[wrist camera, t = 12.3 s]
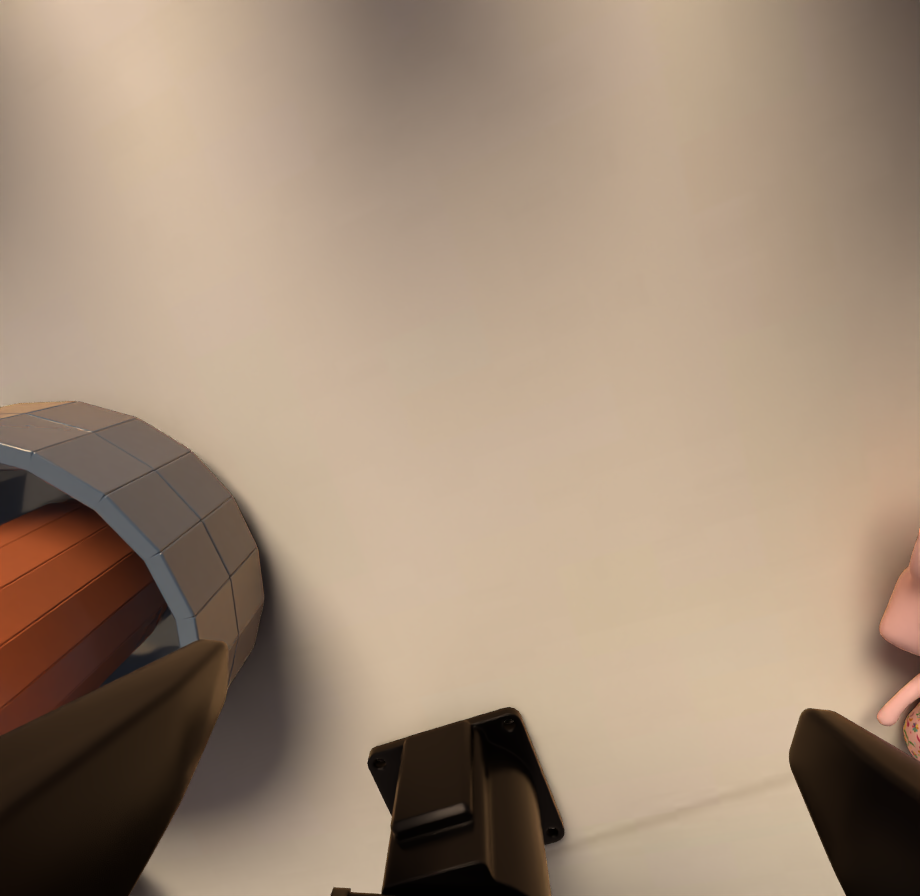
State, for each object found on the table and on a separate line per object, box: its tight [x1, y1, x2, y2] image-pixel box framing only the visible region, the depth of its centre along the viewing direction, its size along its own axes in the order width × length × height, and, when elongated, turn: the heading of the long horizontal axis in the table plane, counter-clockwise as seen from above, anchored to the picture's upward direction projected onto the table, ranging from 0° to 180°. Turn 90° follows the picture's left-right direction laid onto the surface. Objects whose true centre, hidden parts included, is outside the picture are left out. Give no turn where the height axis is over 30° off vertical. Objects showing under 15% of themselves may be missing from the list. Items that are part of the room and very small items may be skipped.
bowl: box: [0, 401, 264, 689], centre depth 19 cm, size 13×13×6 cm
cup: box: [0, 499, 167, 736], centre depth 17 cm, size 6×6×8 cm
